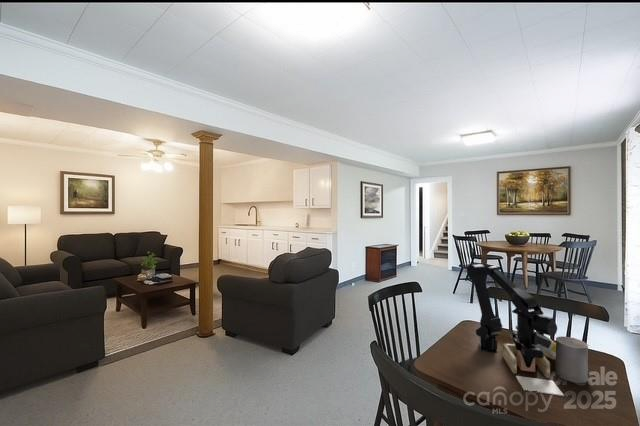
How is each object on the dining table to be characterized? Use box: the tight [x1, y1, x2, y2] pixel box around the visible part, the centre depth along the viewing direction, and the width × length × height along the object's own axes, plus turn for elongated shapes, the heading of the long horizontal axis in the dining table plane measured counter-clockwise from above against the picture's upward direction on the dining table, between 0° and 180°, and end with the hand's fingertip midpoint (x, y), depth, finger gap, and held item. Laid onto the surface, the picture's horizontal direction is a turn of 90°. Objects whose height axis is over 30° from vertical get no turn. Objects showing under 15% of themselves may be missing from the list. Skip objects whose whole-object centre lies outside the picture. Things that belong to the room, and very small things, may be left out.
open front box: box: [502, 342, 551, 379], centre depth 123 cm, size 12×14×6 cm
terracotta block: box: [517, 350, 536, 373], centre depth 122 cm, size 5×5×6 cm
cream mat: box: [515, 375, 565, 397], centre depth 110 cm, size 12×9×1 cm
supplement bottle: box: [534, 335, 556, 360], centre depth 128 cm, size 7×7×13 cm
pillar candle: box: [555, 335, 589, 384], centre depth 115 cm, size 10×10×15 cm
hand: (525, 364), depth 122 cm, fingers closed on terracotta block, 5 cm apart
